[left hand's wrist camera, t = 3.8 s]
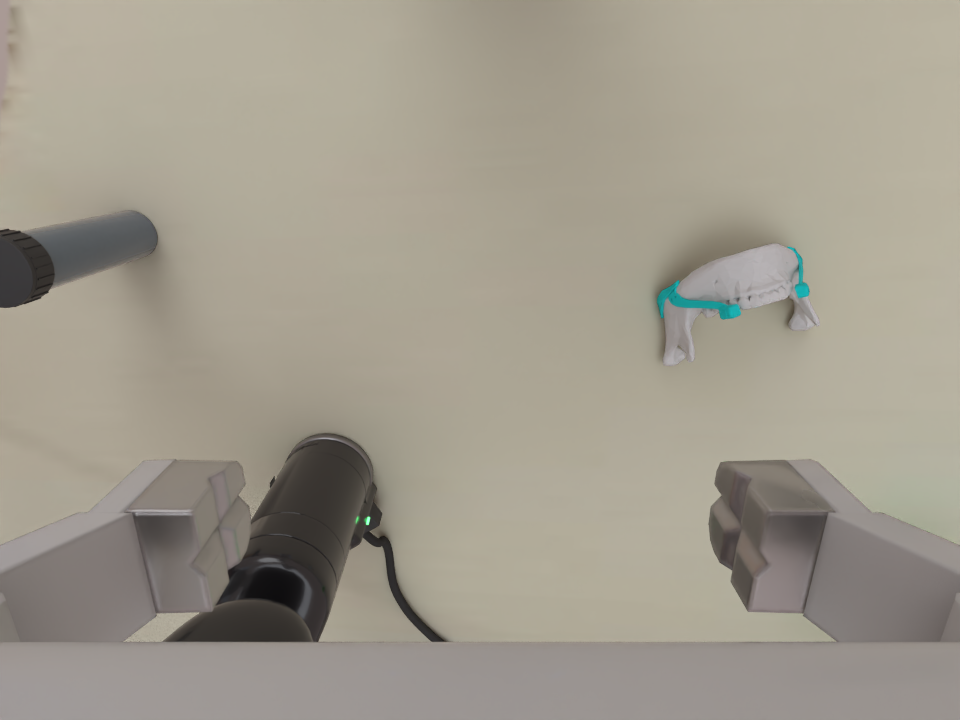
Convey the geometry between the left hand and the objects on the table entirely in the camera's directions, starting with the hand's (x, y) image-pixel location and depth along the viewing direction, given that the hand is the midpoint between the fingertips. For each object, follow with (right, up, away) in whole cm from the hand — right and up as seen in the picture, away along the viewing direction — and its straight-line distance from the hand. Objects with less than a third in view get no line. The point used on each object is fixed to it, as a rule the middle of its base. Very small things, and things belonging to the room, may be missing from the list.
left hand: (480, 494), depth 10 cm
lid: (-33, +8, +30) cm, 45 cm away
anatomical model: (+24, +9, +48) cm, 54 cm away
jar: (-33, +14, +46) cm, 58 cm away
